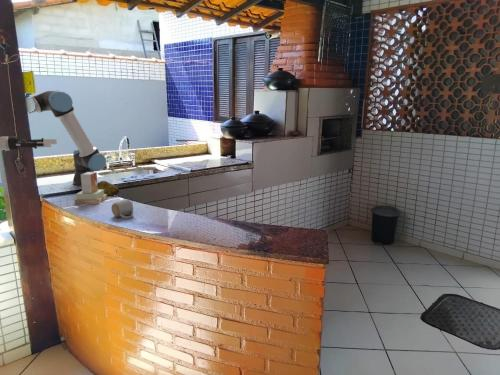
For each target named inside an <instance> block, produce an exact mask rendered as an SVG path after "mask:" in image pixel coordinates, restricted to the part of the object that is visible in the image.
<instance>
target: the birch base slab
mask: <svg viewBox="0 0 500 375" xmlns="http://www.w3.org/2000/svg"><path fill="white" fill-rule="evenodd" d="M107 199H108V195H107V194H104V195H103V196H101V197H100V198H98V199H76V198H75V199H74V204H75V205H76V204H78V205H80V204H82V205H83V204H84V205H85V204H88V205H100V204H101V203H102V202H104V201H105V200H107Z"/></svg>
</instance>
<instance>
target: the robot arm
mask: <svg viewBox="0 0 500 375" xmlns="http://www.w3.org/2000/svg"><path fill="white" fill-rule="evenodd" d="M30 98H32V99H33V101H34V103H35V109H34V111H32V112H29V113H28V115H30V114H34V113H42V112H47V111H50V112H51V113H52V114H53V116H54V117H55V118H56V119H59V120H60V122H61V124H62V126H63V127H64V128H65V130H66V132H67V133H68V135H69V136H70V138H71V140H72V141H73V143H74V145H75V147H76V148H77V149H76V150H73V164H74V176H73V179H72V183H73V185H76V186H82V184H81V174H84V173H86V172H100V171H103V169H104V168H105V166H106V163H107V159H106V157H105V154H102V153H100V151H99V149H98V148H97V146H94V145H93V144H92V142H91V140H90V138H89V137H88V135H87V134H86V132H85V131H84V129H83V127H82V125H81V124H80V122H79V120H78V118H77V117H76V114H75V113H74V111H75V108H74V106H73V99H72V97H71V95H70V94H69V93H67V92H66V91H61V90H48V91H44V92H42V93H39V94H37V95H34V96H31V97H30ZM0 136H1V135H0ZM57 142H58V141H57V139H56V138H54V139H53V138H52V139H51V138H47V139H46V138H44V137H41V138H40V139H39V138H37V139H21V140H20V138H19V137H18V136H12V135H11V136H8V135H7V136H1V137H0V150H1V151H3V150H5V152H6V151H15V152H16V151H20V148H31V149H38V148H52V145H57V144H58V143H57ZM1 151H0V152H1Z"/></svg>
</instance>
